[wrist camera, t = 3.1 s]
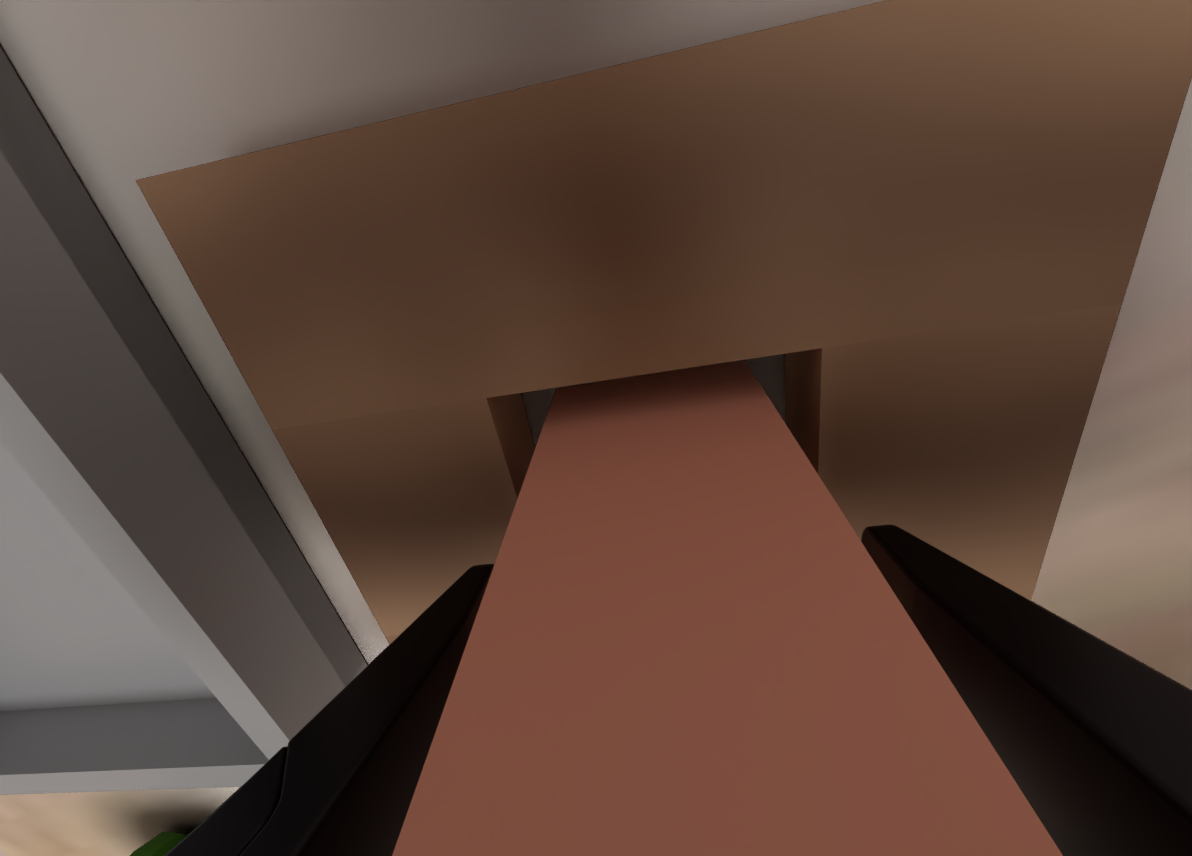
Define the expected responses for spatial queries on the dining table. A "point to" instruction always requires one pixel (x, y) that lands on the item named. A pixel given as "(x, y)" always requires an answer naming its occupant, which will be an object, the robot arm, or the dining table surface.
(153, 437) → the tray
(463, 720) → the brown tall block
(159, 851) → the bell pepper
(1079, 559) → the dining table surface
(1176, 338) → the dining table surface
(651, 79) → the socket block
